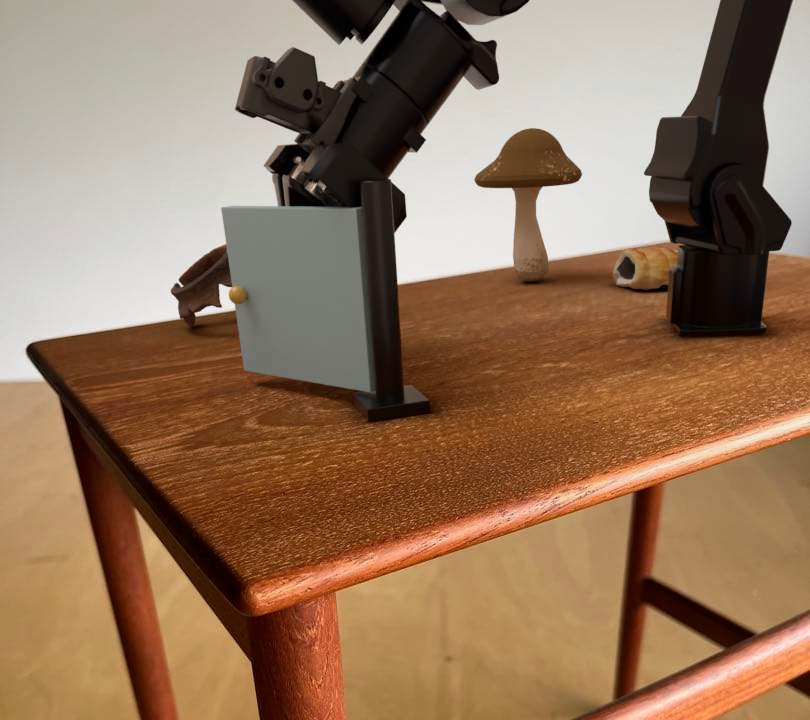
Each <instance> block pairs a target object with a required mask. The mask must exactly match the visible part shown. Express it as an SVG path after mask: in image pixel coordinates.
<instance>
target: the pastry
mask: <svg viewBox="0 0 810 720" xmlns="http://www.w3.org/2000/svg"><path fill="white" fill-rule="evenodd" d="M677 259H678V249H675V248H667V247H663V246H661V245H656V246H652V247H641V248H636V247H629V248H624V250H621V251H620V253H619V257H618V259H617V260H616V262H615V264H614V268H613V269H612V271H613V272H612V278H613V279H614V281H615V285H616V286H618V287H620V288H627V287H628V288H631V289H633V290H640V289H641V290H645V291H649V290H652V289H659V288H660V287H661V286H663V285H664V286H665V285H667V286H668V283H669V268H670V267H671V266H672V265H677Z"/></svg>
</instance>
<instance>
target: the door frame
mask: <svg viewBox="0 0 810 720" xmlns="http://www.w3.org/2000/svg"><path fill="white" fill-rule="evenodd" d="M391 182H392V179H391V178H388V179H371V180H363V181H360V193H361V206H362V219H363V232H364V246H365V259H366V272H367V285H368V298H369V311H370V325H371V338H372V351H373V364H374V377H375V391H373V392H365V391H357V392H352V395H351V396H352V405H353V406H354V407H355V409H357V410H358V412H359V413H360V414H361V415H362V416H363V417H364V418H365V420H366V421H368V422H376V421H382V420H390V419H393V418H394V419H396V418H401V417H408V416H409V417H410V416H415V415H422V414H429V413H431V400H430V399H429V398H428V397H426V396H425V395H424V394H423V393H422V392H420V391H419V390H418V389H417V388H416V387H414V386H413V385H412V384H407V385H406V384H405V383H404V381H405V380H404V367H403V350H402V349H403V348H402V335H401V317H400V303H399V302H400V301H399V284H398V270H397V269H398V268H397V267H398V265H397V253H396V236H395V233H394V218H393V201H392V185H391Z"/></svg>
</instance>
